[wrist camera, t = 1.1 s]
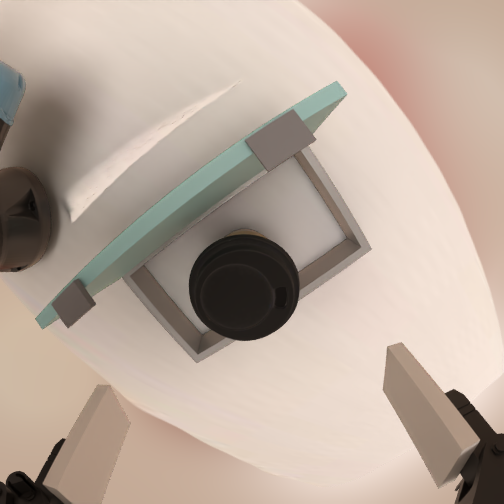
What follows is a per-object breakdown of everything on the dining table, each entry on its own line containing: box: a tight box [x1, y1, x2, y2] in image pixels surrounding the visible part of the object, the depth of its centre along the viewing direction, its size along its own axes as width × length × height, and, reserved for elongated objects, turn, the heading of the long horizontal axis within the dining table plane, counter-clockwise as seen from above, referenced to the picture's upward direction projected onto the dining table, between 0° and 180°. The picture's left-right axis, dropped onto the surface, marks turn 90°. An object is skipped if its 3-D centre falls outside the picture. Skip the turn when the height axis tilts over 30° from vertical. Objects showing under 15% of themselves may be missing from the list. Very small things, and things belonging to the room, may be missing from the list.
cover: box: [35, 81, 347, 329], centre depth 23 cm, size 16×26×2 cm
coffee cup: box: [189, 229, 300, 341], centre depth 30 cm, size 9×9×15 cm
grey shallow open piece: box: [122, 146, 372, 363], centre depth 35 cm, size 15×26×5 cm, turn 125°
